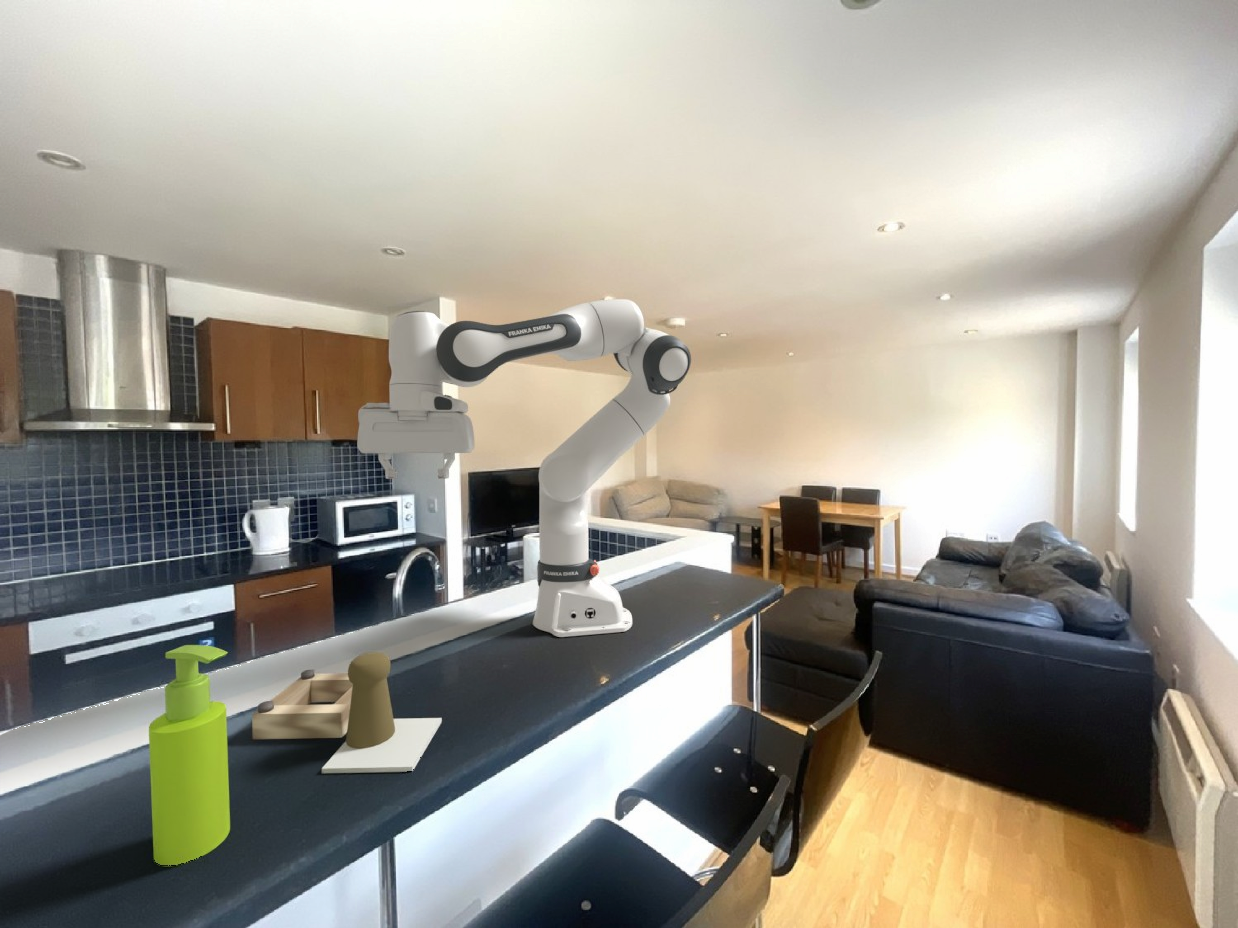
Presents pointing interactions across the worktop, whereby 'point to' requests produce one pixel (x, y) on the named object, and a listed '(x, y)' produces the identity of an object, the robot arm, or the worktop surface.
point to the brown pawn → (369, 701)
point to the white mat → (387, 750)
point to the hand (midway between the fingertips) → (417, 478)
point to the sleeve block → (306, 709)
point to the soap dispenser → (189, 763)
